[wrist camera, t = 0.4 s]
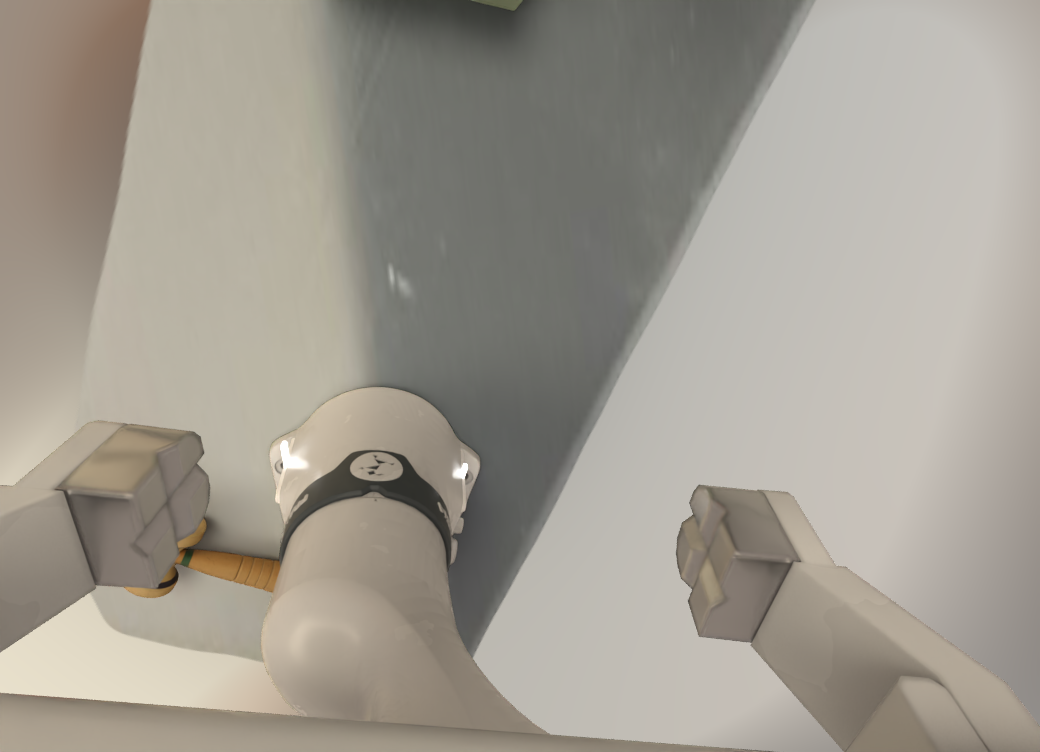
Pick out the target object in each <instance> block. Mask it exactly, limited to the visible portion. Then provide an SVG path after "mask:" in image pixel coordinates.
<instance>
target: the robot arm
mask: <svg viewBox="0 0 1040 752" xmlns="http://www.w3.org/2000/svg"><path fill="white" fill-rule="evenodd" d="M203 454H204V450H203V446H202V441H201V437H200V436H199V435H197V434H196V433H195V432H191V431H184V430H176V429H168V428H160V427H152V426H144V425H136V424H125V423H117V422H108V421H99V420H98V421H93V422H89V423H87V424H85V425H84V426H83V427H82V428H81V429H80V430H78V431H77V432H76V433H75V434H74V435H73V436H71V437H70V438H69V439H68V440H67V441H65V442H64V443H63V444H62V445H61V446H60V447H58V448H57V449H56V450H55V451H54V452H53V453H51V454H50V455H49V456H48V457H47V458H45V459H44V460H43V461H42V462H41V463H40V464H38V465H37V466H36V467H35V468H34V469H32V470H31V471H30V472H29V473H28V474H27V475H25V476H24V477H23V478H22V479H21V480H20V481H18V482H17V483H16V484H15V485H14V486H7V485H0V652H1V651H3V650H4V649H6V648H8V647H9V646H10V645H12V644H14V643H15V642H16V641H18V640H19V639H21V638H22V637H24V636H25V635H27V634H28V633H30V632H32V631H33V630H34V629H36V628H37V627H39V626H40V625H42V624H43V623H45V622H46V621H48V620H49V619H51V618H52V617H54V616H55V615H57V614H58V613H60V612H61V611H63V610H64V609H66V608H67V607H69V606H70V605H72V604H73V603H75V602H76V601H78V600H79V599H81V598H82V597H84V596H85V595H87V594H88V593H90V592H91V591H93V590H94V589H96V585H100V586H117V587H133V588H150V589H157V587H158V586H159V584H160V583H161V581H162V580H163V578H164V577H165V575H166V574H167V572H168V571H169V570H170V568H171V567H172V565H173V564H174V562H175V561H176V559H177V558H178V556H179V555H180V553H179V548H178V544H177V542H179V541H181V540H183V539H184V538H186V537H188V536H190V535H192V534H193V533H195V531H196V530H197V528H198V527H199V525H200V523H201V522H202V520H203V519H204V516H205V513H206V510H207V507H208V503H209V496H210V484H209V478H208V475H207V474H206V473H205V472H204V471H203V470H202V469H201V468H200V466H199V465H198V464H197V462H198V461H199V459H200V458H201V457H202V456H203ZM269 458H270V463H271V467H272V472H273V476H274V481H275V485H276V489H277V491H276V496H275V501H276V503H278V504H280V509H281V514H282V518H283V521H284V529H283V532H282V536H281V547H280V552H279V561H280V570H279V574H278V577H277V580H276V583H275V587H274V590H273V593H272V597H271V600H270V603H269V606H268V610H267V613H266V616H265V619H264V623H263V627H262V633H261V651H262V657H263V662H264V665H265V668H266V670H267V673H268V675H269V676H270V679H271V680H272V682H273V684H274V685H275V687H276V689H277V690H278V692H279V693H280V695H281V696H282V698H283V699H284V700H285V702H286V703H287V704H288V705H289V706H290V707H291V708H292V709H293V710H295V711H296V712H297V713H298V714H300V715H301V716H295V715H280V714H269V713H255V712H242V711H230V710H217V709H205V708H192V707H178V706H166V705H153V704H139V703H127V702H113V701H101V700H88V699H75V698H62V697H49V696H48V697H47V696H35V695H21V694H9V693H0V752H770V751H758V750H744V749H732V748H719V747H706V746H692V745H679V744H666V743H653V742H639V741H625V740H614V739H599V738H586V737H574V736H561V735H550V734H549V733H547V732H546V731H544V730H543V729H541V728H540V727H538V726H537V725H535V724H534V723H532V722H531V721H530V720H529V719H528V718H526V717H525V716H524V715H523V714H522V713H520V712H519V711H518V710H517V709H516V708H515V707H514V706H513V705H512V704H511V703H509V702H508V701H507V700H506V699H505V698H504V697H503V696H502V695H501V694H500V692H499V691H498V690H497V689H496V688H495V687H494V686H493V685H492V684H491V683H490V681H489V680H488V679H487V678H486V676H485V675H484V674H483V672H482V671H481V670H480V669H479V667H478V666H477V664H476V663H475V661H474V660H473V659H472V657H471V656H470V654H469V653H468V651H467V649H466V647H465V646H464V644H463V642H462V640H461V637H460V635H459V633H458V630H457V627H456V623H455V619H454V614H453V609H452V603H451V597H450V590H449V583H448V574H447V572H448V570H449V566H450V564H453V562H454V560H455V557H456V553H457V540H455V539H453V538H452V536H453V534H454V533H458V534H460V533H461V532H462V529H463V524H464V520H463V518H460V517H461V514H462V512H464V511H465V509H466V502H467V500H468V497H469V495H470V492H471V490H472V487H473V485H474V483H475V480H476V478H477V475H478V473H479V470H480V458H479V456H478V455H477V453H476V452H474V451H473V450H472V449H471V448H469V447H468V446H467V445H465V444H464V443H462V442H461V441H460V440H459V439H458V438H457V437H456V435H455V434H454V432H453V430H452V428H451V426H450V425H449V423H448V422H447V420H446V419H445V417H444V416H443V415H442V414H441V413H440V412H439V411H438V410H437V409H436V408H435V407H434V406H433V405H431V404H430V403H429V402H427V401H426V400H424V399H422V398H420V397H418V396H416V395H414V394H412V393H409V392H406V391H403V390H399V389H394V388H387V387H367V388H360V389H355V390H352V391H348V392H345V393H343V394H340V395H338V396H336V397H334V398H332V399H330V400H329V401H327V402H326V403H324V404H323V405H322V406H320V407H319V408H318V409H317V410H316V411H315V412H314V413H313V414H312V415H311V416H310V417H309V419H308V420H307V421H306V422H305V423H304V424H303V425H302V426H301V427H300V428H298V429H296V430H294V431H292V432H290V433H288V434H285V435H283V436H281V437H280V438H278V439H276V440H275V441H274V442H273V443H272V445H271V447H270V451H269ZM282 462H283V463H284V464H283V463H282ZM466 473H467V475H466V476H465V474H466ZM689 503H690V506H691V509H692V512H693V515H692V516H691V517H689V518H688V519H687V520H685V521H684V522H682V525H681V528H680V531H679V534H678V537H677V550H676V556H677V564H678V569H679V572H680V576H681V579H682V580H683V581H684V582H685V583H686V584H687V585H688V586H689V587H691V588H692V592H691V595H690V597H689V600H688V603H689V606H690V609H691V612H692V616H693V619H694V622H695V625H696V629H697V632H698V635H699V637H707V638H716V639H724V640H732V641H741V642H750V643H752V644H751V646H752V647H753V648H754V649H755V651H756V652H757V653H758V654H759V655H760V656H761V658H762V659H763V660H764V661H765V662H766V663H767V664H768V665H769V667H770V668H771V669H772V670H773V671H774V672H775V673H776V675H777V676H778V677H779V678H780V679H781V680H782V682H783V683H784V684H785V685H786V686H787V687H788V688H789V689H790V691H791V692H792V693H793V694H794V695H795V696H796V697H797V699H798V700H799V701H800V702H801V703H802V704H803V706H804V707H805V708H806V709H807V710H808V711H809V712H810V713H811V715H812V716H813V717H814V718H815V719H816V720H817V721H818V723H819V724H820V725H821V726H822V727H823V728H824V729H825V731H826V732H827V733H828V734H829V735H830V736H831V737H832V738H833V740H834V741H835V742H836V743H837V744H838V745H839V747H840V748H841V749H842V750H843V751H844V752H1040V726H1039V725H1038V723H1037V722H1036V721H1035V719H1034V718H1033V717H1032V716H1031V714H1030V713H1029V712H1028V710H1027V709H1026V708H1025V706H1024V705H1023V704H1022V702H1021V701H1020V700H1019V699H1018V697H1017V696H1016V695H1015V693H1014V692H1013V691H1012V689H1011V688H1010V687H1009V685H1008V684H1007V683H1006V682H1005V681H1003V680H1002V679H1000V678H999V677H998V676H996V675H995V674H994V673H992V672H991V671H989V670H988V669H987V668H985V667H984V666H983V665H981V664H980V663H978V662H977V661H976V660H974V659H973V658H971V657H970V656H969V655H967V654H966V653H964V652H963V651H962V650H960V649H959V648H958V647H956V646H955V645H953V644H952V643H951V642H949V641H948V640H946V639H945V638H944V637H942V636H941V635H940V634H938V633H936V632H935V631H934V630H933V629H931V628H930V627H928V626H927V625H926V624H924V623H923V622H921V621H920V620H919V619H917V618H916V617H915V616H913V615H912V614H910V613H909V612H907V611H906V610H905V609H903V608H902V607H901V606H899V605H898V604H896V603H895V602H894V601H892V600H891V599H889V598H888V597H887V596H885V595H884V594H883V593H881V592H880V591H878V590H877V589H876V588H874V587H873V586H871V585H870V584H869V583H867V582H866V581H864V580H863V579H861V578H860V577H859V576H858V575H856V574H855V573H853V572H852V571H850V570H849V569H848V568H847V567H842V566H836V565H835V563H834V561H833V560H832V558H831V557H830V555H829V553H828V552H827V550H826V548H825V547H824V545H823V544H822V542H821V540H820V539H819V537H818V536H817V534H816V532H815V530H814V529H813V527H812V526H811V524H810V523H809V521H808V519H807V517H806V516H805V514H804V513H803V511H802V509H801V508H800V506H799V504H798V503H797V501H796V500H795V498H794V497H793V496H792V495H790V494H789V493H788V492H780V491H768V490H757V491H755V490H745V489H736V488H726V487H716V486H706V485H698V487H697V488H696V489H695V490H694V492H693V494H692V497H691V500H690V502H689Z"/></svg>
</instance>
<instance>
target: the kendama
mask: <svg viewBox="0 0 1040 752" xmlns="http://www.w3.org/2000/svg"><path fill="white" fill-rule="evenodd" d="M206 527H207V524H206V521H205V519H203V520H202V522H201V523H200V525H199V527H198V528H197V530H196V531H195V533H193V534H192V535H190V536H188V537H186V538H184V539H183V540H181V541H179V542H177V544H178V548H179V553H180V555H179V556H178V558H177V559H176V561H175V562H174V564H173V565H172V567H171V568H170V570H169V571H168V572H167V574H166V575H165V577H164V578H163V580H162V581H161V583H160V584H159V586H158V587H157V589H150V588H133V587H124V588H125V589H126V590H128V591H129V592H131V593H132V594H135V595H137V596H140V597H146V598H156V597H161V596H164V595H166V594H168V593H169V592H170V591H171V590H172V589H173V588H174V586H175V584H176V583H177V581H178V572H177V570H176V568H175V565H176V564H181V565H183V566H186V567H188V568H191V569H194V570H197V571H200V572H202V573H205V574H208V575H211V576H215V577H218V578H221V579H225V580H229V581H234V582H236V583H240V584H244V585H248V586H252V587H255V588H259V589H263V590H265V591H269V592H272V593H273V590H274V587H275V583H276V580H277V577H278V574H279V570H280V561H276V560H274V561H272V560H270V559H262V558H257V557H254V558H253V557H250V556H242V555H238V554H232V553H226V552H218V551H207V550H196V549H184V548H186V547H190V546H193V545H195V544H197V543H198V542H199V541H200V540H201V539H202V537H203V535H204V532H205V530H206Z"/></svg>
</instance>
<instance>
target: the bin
mask: <svg viewBox="0 0 1040 752" xmlns="http://www.w3.org/2000/svg"><path fill="white" fill-rule="evenodd" d="M470 1H474V2H479V3H483V4H487V5H491V6H495V7H499V8H503V9H508V10H512V11H515V10H516V8H517V7H518V6H519V5H520V4H521V2H522V1H523V0H470Z"/></svg>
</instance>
